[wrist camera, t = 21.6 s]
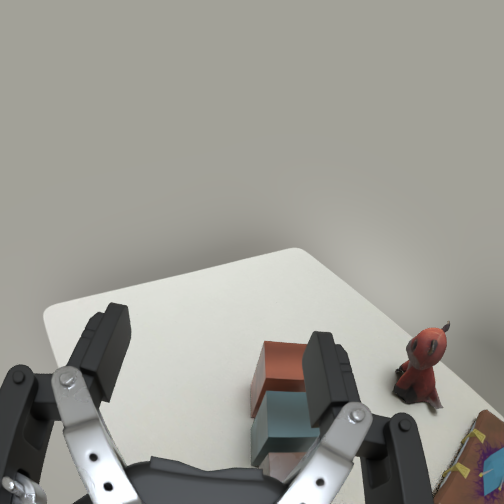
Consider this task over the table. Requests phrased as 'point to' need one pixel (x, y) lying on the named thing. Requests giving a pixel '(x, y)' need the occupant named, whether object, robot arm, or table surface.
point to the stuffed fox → (422, 367)
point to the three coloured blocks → (280, 410)
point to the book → (477, 466)
